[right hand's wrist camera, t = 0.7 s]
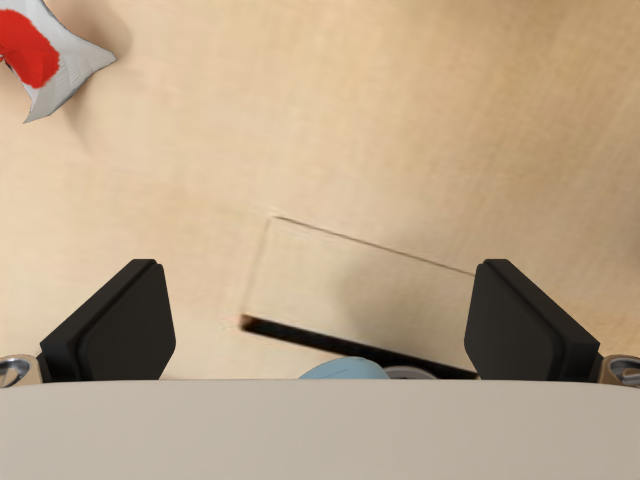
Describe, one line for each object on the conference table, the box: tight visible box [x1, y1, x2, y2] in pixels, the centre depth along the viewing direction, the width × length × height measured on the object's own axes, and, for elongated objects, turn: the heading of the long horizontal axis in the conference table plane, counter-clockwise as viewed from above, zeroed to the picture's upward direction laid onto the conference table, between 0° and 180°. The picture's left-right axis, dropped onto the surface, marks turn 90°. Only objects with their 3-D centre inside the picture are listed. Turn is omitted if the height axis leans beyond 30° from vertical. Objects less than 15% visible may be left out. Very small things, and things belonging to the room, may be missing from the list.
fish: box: [0, 0, 117, 124], centre depth 31 cm, size 11×16×10 cm
